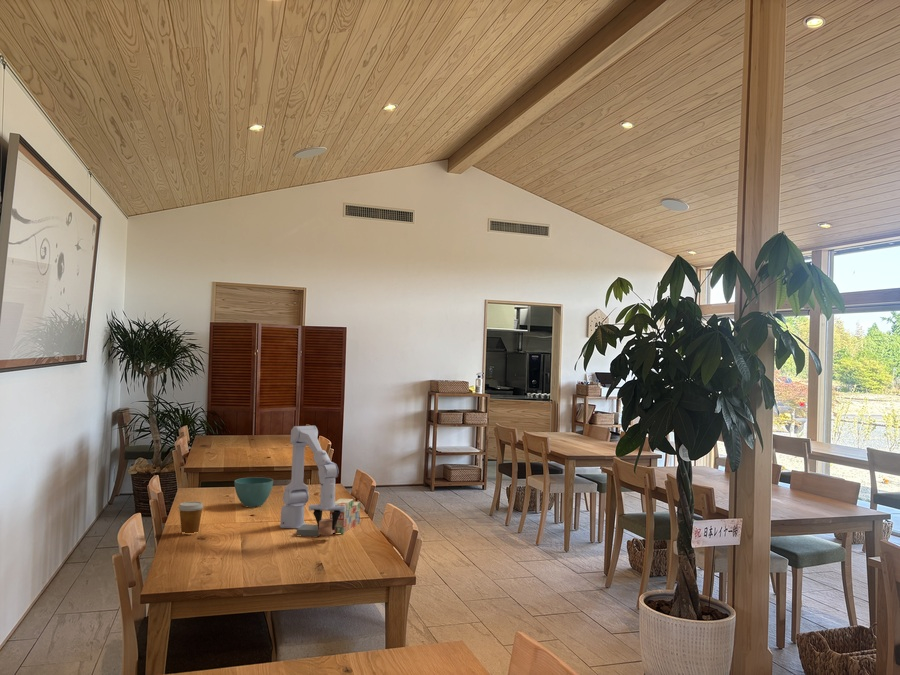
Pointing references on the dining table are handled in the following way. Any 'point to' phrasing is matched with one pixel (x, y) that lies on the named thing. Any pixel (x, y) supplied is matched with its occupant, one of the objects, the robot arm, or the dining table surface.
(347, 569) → the dining table surface
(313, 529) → the charcoal slab
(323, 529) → the terracotta cube
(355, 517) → the stack of blocks
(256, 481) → the teal bowl
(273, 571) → the dining table surface
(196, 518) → the disposable coffee cup
